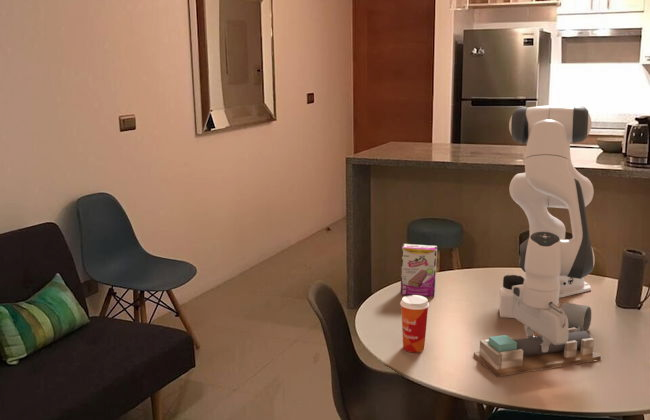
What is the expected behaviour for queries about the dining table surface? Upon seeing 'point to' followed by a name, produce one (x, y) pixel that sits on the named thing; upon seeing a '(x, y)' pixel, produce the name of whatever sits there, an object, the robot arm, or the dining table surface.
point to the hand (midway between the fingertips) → (537, 346)
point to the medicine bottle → (508, 294)
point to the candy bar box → (418, 270)
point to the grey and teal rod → (532, 343)
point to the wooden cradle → (534, 357)
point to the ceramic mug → (577, 316)
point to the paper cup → (414, 322)
